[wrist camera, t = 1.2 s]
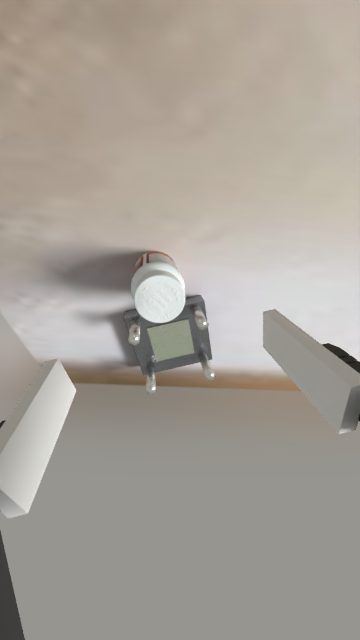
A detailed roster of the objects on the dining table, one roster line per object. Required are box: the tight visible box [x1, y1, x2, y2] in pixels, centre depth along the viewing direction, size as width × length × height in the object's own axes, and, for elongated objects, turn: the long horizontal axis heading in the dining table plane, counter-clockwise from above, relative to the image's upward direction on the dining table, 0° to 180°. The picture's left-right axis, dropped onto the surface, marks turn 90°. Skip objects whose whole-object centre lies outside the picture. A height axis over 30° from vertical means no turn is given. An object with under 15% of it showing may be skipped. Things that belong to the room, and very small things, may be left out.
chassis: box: [124, 295, 215, 394], centre depth 33 cm, size 11×12×8 cm
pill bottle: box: [131, 251, 185, 323], centre depth 26 cm, size 6×6×11 cm
